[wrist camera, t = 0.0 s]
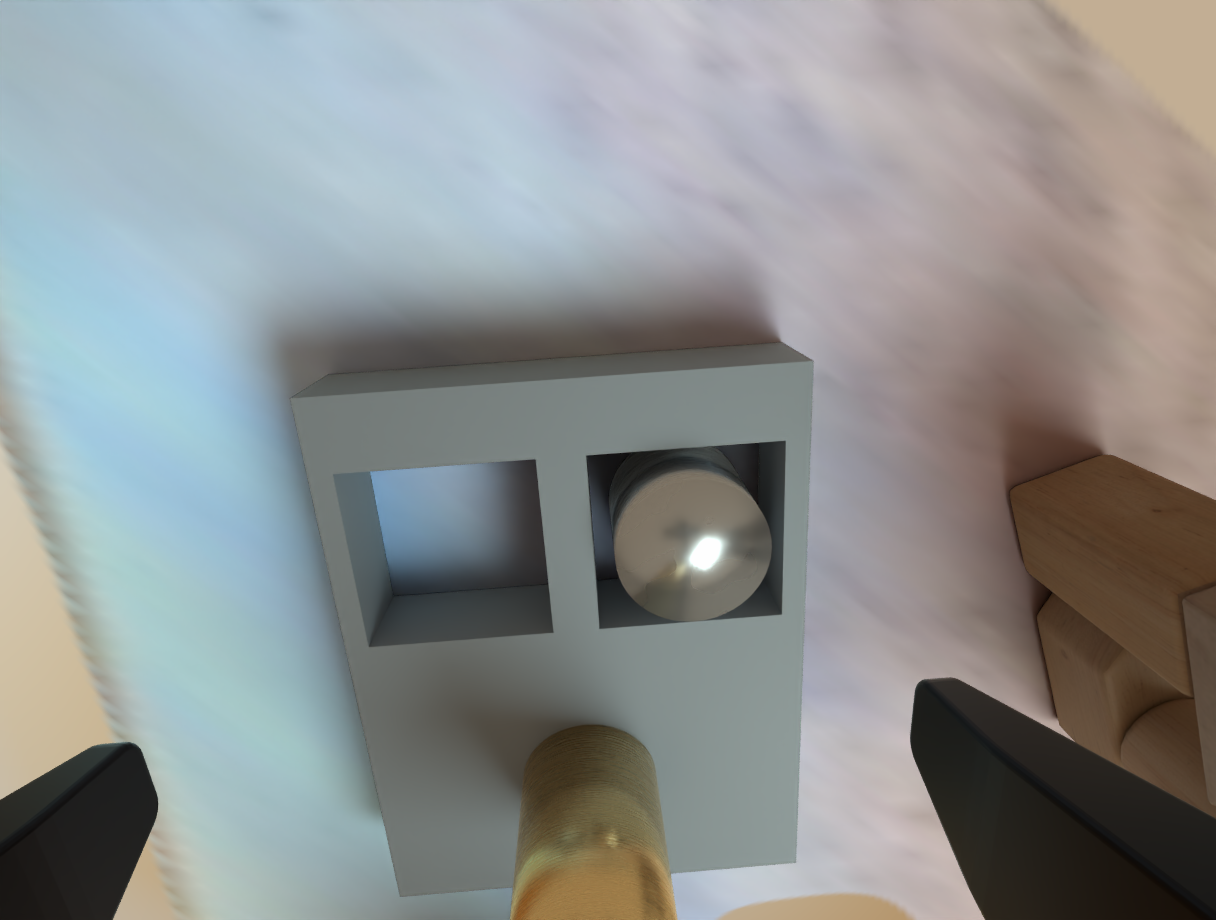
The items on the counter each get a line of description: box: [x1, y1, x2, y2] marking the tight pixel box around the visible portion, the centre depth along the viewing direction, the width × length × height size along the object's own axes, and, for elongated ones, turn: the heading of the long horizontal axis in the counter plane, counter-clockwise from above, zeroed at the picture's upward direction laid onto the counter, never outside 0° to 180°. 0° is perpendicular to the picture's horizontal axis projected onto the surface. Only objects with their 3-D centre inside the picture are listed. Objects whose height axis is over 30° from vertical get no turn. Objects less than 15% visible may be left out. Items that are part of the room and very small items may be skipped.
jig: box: [290, 342, 814, 897], centre depth 23 cm, size 18×14×3 cm
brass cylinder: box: [510, 725, 677, 920], centre depth 19 cm, size 4×4×8 cm
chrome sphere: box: [609, 446, 772, 622], centre depth 21 cm, size 4×4×4 cm
